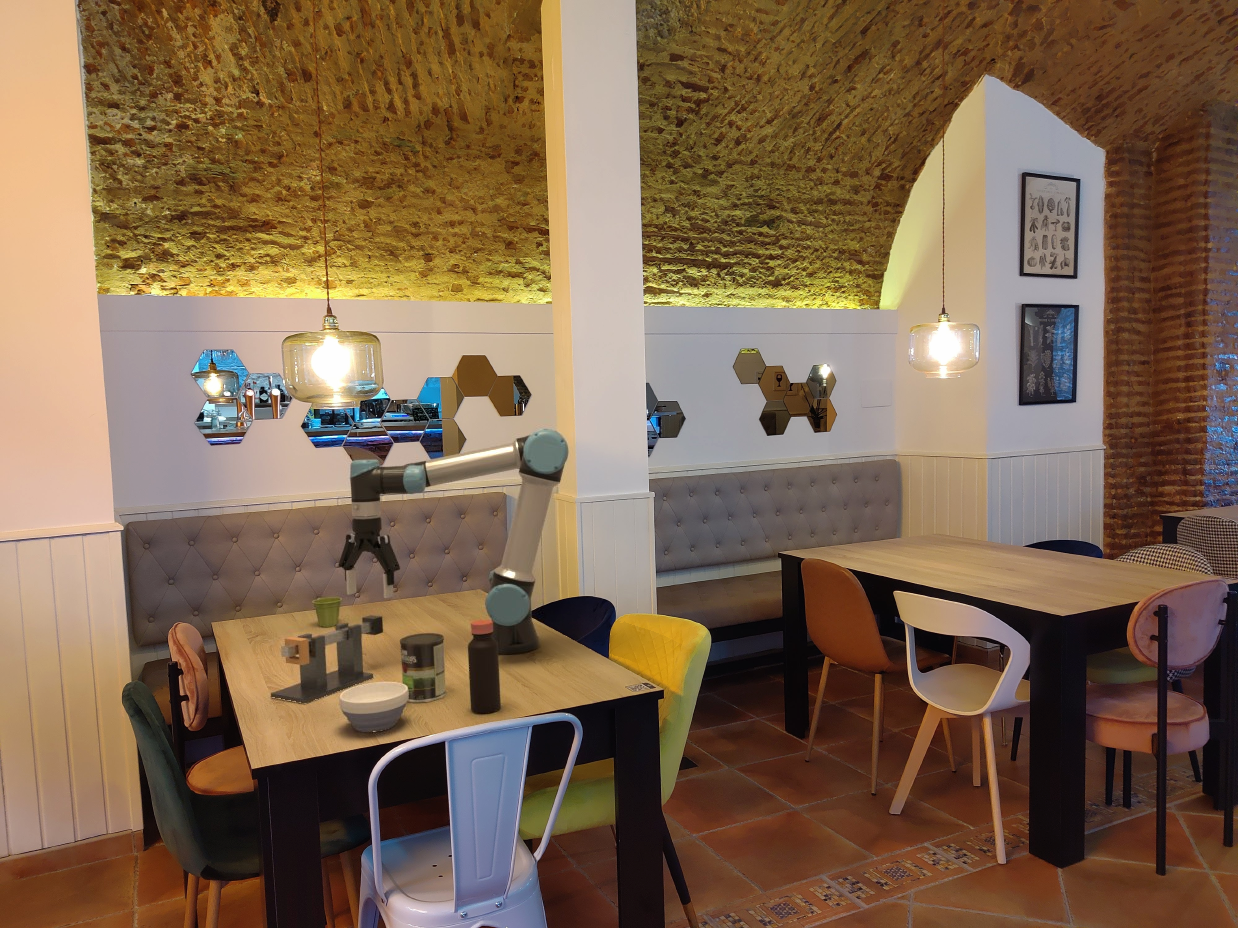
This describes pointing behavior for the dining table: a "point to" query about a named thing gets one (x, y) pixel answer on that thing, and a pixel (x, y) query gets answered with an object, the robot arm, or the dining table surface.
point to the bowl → (374, 705)
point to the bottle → (483, 669)
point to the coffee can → (423, 666)
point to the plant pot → (327, 611)
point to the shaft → (340, 634)
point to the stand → (315, 674)
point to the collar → (302, 648)
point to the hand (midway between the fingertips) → (370, 595)
